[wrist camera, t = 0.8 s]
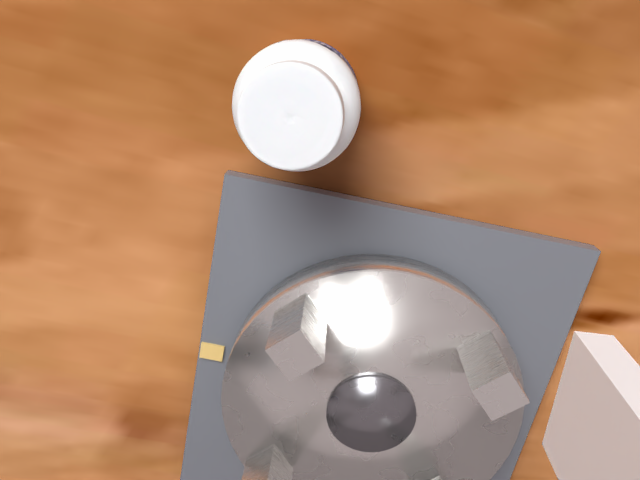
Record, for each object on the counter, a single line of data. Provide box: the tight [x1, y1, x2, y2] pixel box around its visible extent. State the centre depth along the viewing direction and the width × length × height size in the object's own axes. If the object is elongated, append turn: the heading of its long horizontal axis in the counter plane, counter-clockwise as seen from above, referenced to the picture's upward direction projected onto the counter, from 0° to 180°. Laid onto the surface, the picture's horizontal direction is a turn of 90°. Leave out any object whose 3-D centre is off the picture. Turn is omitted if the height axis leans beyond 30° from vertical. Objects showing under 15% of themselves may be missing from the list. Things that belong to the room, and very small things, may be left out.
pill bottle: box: [232, 39, 361, 171], centre depth 25 cm, size 5×5×10 cm
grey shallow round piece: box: [221, 254, 530, 480], centre depth 31 cm, size 17×17×6 cm
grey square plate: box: [180, 170, 601, 480], centre depth 35 cm, size 21×22×1 cm
